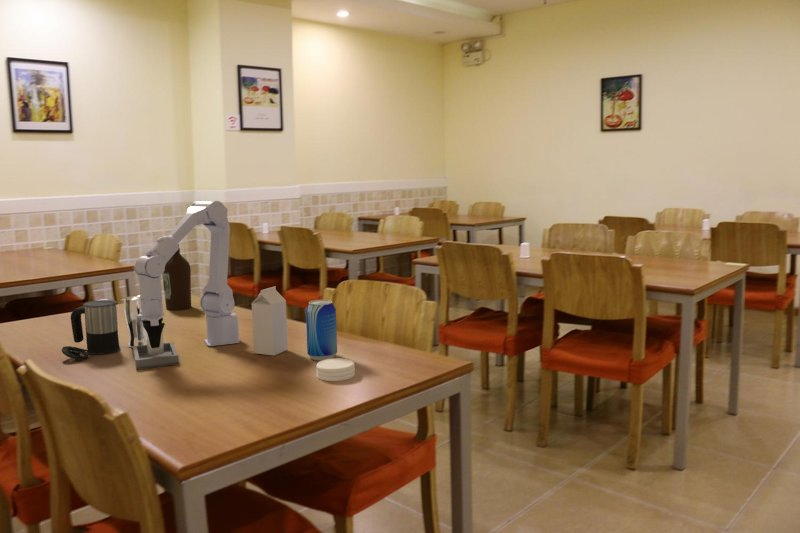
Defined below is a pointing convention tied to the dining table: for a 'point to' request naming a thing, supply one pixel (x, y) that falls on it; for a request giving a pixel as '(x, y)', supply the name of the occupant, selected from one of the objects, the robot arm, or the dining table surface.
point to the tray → (155, 357)
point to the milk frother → (94, 329)
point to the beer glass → (134, 321)
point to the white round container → (335, 369)
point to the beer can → (321, 330)
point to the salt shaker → (155, 350)
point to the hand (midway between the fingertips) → (154, 345)
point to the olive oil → (177, 283)
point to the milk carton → (269, 323)
